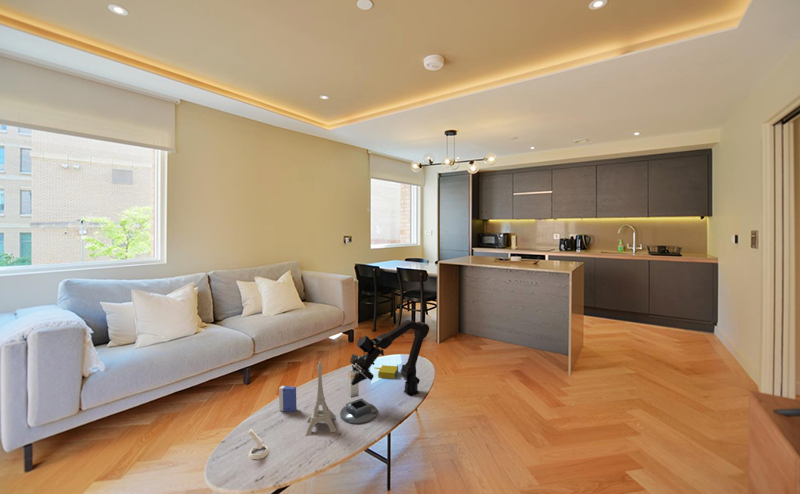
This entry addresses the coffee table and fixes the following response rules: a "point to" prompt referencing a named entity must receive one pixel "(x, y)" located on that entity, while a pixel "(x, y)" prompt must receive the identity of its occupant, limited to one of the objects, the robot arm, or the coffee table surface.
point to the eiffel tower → (320, 413)
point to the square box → (352, 389)
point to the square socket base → (358, 412)
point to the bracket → (387, 371)
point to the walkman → (287, 398)
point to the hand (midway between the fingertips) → (350, 383)
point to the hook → (259, 446)
